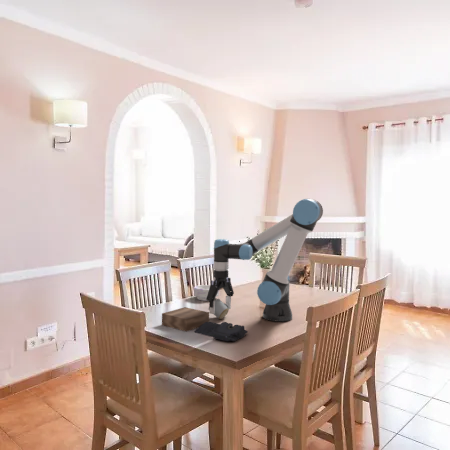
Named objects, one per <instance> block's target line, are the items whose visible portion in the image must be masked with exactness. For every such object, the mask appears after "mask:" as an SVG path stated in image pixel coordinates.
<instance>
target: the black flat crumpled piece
mask: <svg viewBox="0 0 450 450" xmlns="http://www.w3.org/2000/svg"><path fill="white" fill-rule="evenodd" d="M194 333H195V334H198V335H199V334H200V335H203V336H208V337H210V338H213V339H215V340H221V341H225V342H230V341H232V342H235V341H238V340H239V339H242V338H244V337H245V336H246V334H247V333H248V330H247V329H245V326H244V325H240V324H234V325H233V323H231V322H230V323H229V322H227V321H223V322H221V323H217V322H213V321H209V322H205V323H204V324H202V325H201V326H200V327H198V328H195V330H194Z"/></svg>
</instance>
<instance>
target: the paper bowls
mask: <svg viewBox="0 0 450 450" xmlns="http://www.w3.org/2000/svg"><path fill="white" fill-rule="evenodd" d="M210 285H211V284H199V285H195V286H194V287H193V295H194V297H196V299H197V300H198V301H199V300H200V301H204V302H206V301H208V300H206V298H207V295H208V292H209V288H210ZM219 292H220V290H219V291H218V293H217V295H216V297H218V296H220V295H219V294H220V293H219ZM216 297H215V299H217V298H216Z"/></svg>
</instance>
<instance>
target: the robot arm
mask: <svg viewBox="0 0 450 450" xmlns="http://www.w3.org/2000/svg"><path fill="white" fill-rule="evenodd" d="M323 214H324V209H323V206H322V204H321V203H320V202H319V201H317V200H316V199H313V198H312V199H310V198H303V199H301V200H299V201H298V202H296V203H295V205H294V206H293V210H292V214H291V215H289V216H287V217H286V218H285V217H284V219H282V220H281V221H279V222H277V223H276V224H274V225H272V226H271V227H268V228H267V229H265V230H264V231H262V232H261V233H259V234H257V235H256V236H253V237H252V238H251V239H249V240H247V241H245V242H242V243H230V241H229V239H225V238H223V239H222V238H220V239H219V238H218V239H215V240H214V242H213V243H214V244H213V278H214V280H210V284H209V285H210V288H209V292H208V295H207V298H206V300H208V301H209V303H208V305H209V306H208V308H209V307H210V311H209V315H214V314H215V301H214V300H216V298H215V297H216V295H217V293H218V291H219V292H220V290H221V289H223V290H224V292H225V295H226V296H225V304H226V305H227V306H228V307H229V310H231V307H232V305H231V303H232V297H233V296H234V294H235V291H234V289H233V285H232V282H231V277H229V268H230V267H229V259H230V260H231V259H232V260H242V261H246V260H247V261H248V260H251V259H252V257H253V256H254V255H255V254H256V253H258V252H259V251H262V250H263V249H265V248H267V247H268V246H270V245H272V244H274V243H275V242H277V241H278V240H280V239H282V238H284V237H285V239H284V241H283V244H282V246H281V248H280V250H279V252H278V254H277V256H276V258H275V261H274V262H273V265H272V267H271V269H270V270H269V271H266V274H265V275H264V278H263V280H262V282H260V284H259V285H258V287H257V291H256V294H257V297H258V299H259V300H260V302H262V304H265V306H264V307H263V312H262V318H263V319H265V320H268V321H270V322H288V321H291V320H293V312H292V309H291V305H290V274H291V270H292V269H293V267H294V264H295V263H296V261H297V258H298V255H299V254H300V252H301V249H302V247H303V245H304V242H305V240H306V239H307V237H308V234H309V233H312V232H313V231H314V230H315V227H316V224H317V223H318V222H319V221H320V220H321V219H322V216H323Z"/></svg>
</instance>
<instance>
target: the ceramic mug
mask: <svg viewBox="0 0 450 450" xmlns="http://www.w3.org/2000/svg"><path fill="white" fill-rule="evenodd" d="M214 301H215V314H213V316H215V317H216V318H217V319H219V320H222V319H224V318H225V317H226V315H228V313H229V310H230V309H229V307H228V306H227V305H226V302H223V301H222V300H221V299H220V298H215V299H214ZM208 310H209V311H208V312H210V307H209V306H208Z"/></svg>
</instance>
